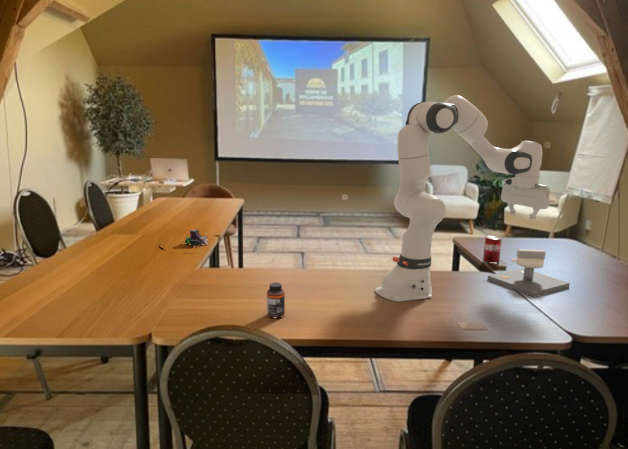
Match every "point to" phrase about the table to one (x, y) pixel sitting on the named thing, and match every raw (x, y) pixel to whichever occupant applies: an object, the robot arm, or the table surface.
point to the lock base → (528, 281)
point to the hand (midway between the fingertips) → (522, 216)
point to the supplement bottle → (275, 300)
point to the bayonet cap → (530, 258)
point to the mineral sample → (196, 238)
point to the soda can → (492, 249)
